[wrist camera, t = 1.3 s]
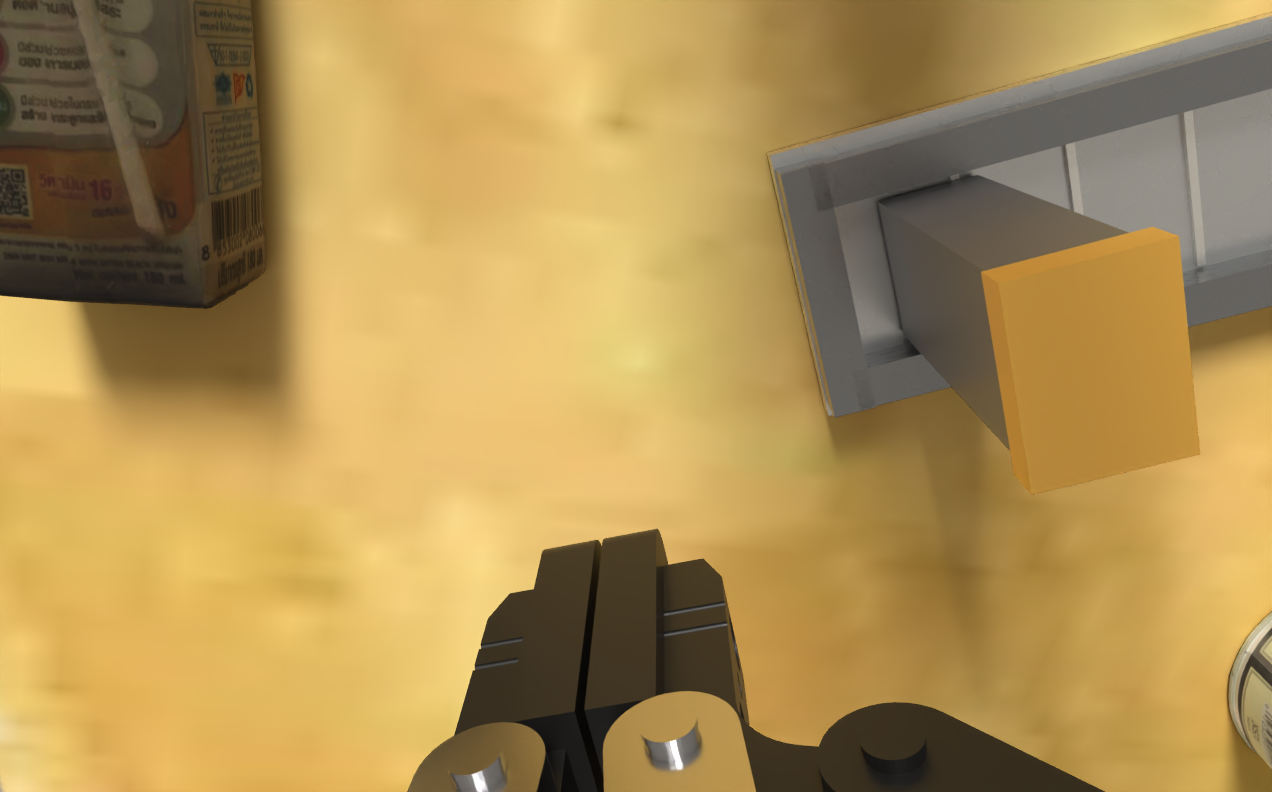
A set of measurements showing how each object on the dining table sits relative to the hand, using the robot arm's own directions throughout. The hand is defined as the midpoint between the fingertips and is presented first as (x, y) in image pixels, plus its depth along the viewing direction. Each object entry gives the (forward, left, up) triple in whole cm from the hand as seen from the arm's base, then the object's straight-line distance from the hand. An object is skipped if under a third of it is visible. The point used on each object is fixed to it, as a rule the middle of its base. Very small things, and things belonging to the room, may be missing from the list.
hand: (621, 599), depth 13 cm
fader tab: (-1, +11, -24) cm, 26 cm away
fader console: (-3, +17, -25) cm, 31 cm away
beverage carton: (-7, -17, -26) cm, 32 cm away
